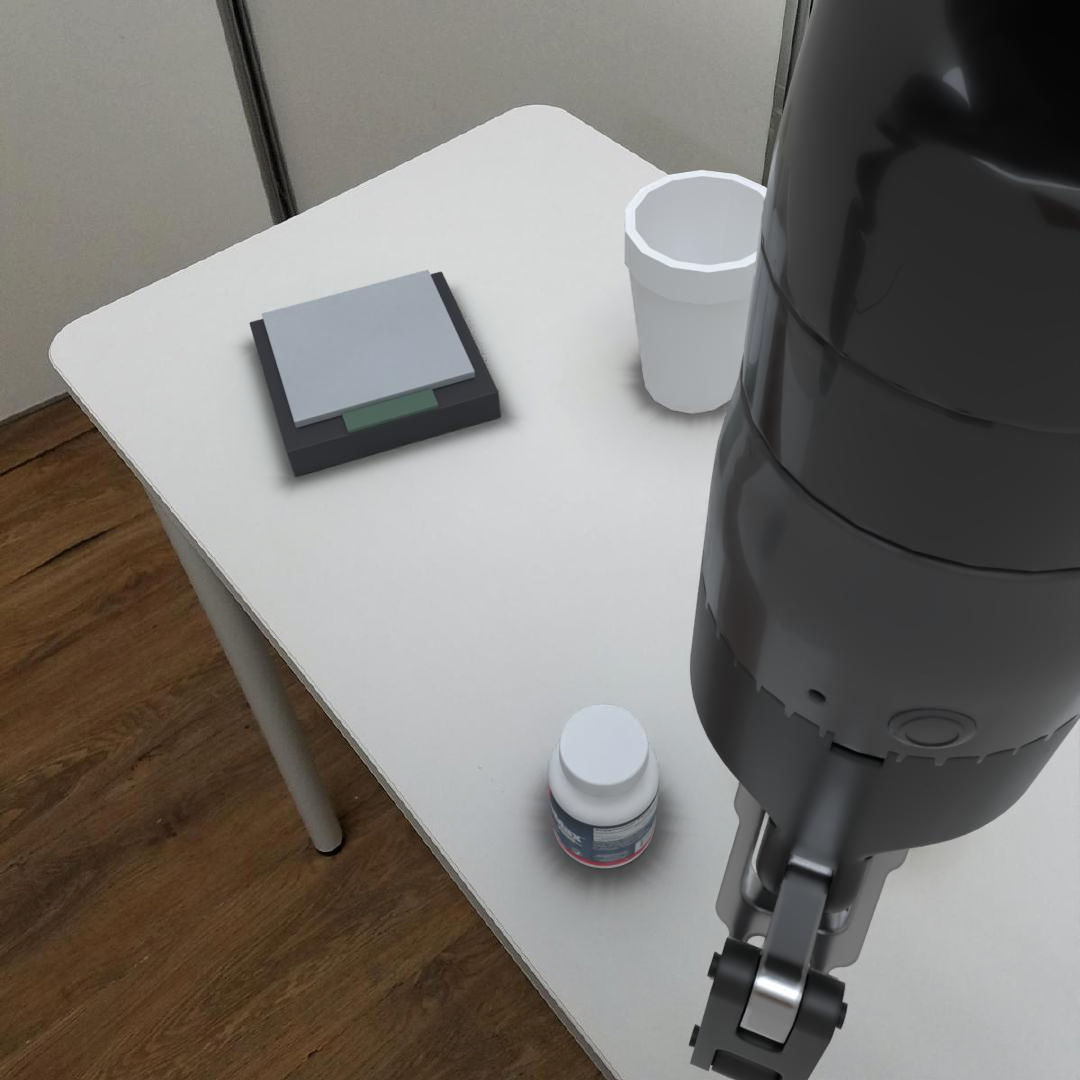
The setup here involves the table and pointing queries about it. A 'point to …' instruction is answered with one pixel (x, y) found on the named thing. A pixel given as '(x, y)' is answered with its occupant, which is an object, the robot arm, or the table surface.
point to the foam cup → (693, 283)
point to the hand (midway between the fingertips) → (791, 877)
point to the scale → (372, 370)
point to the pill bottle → (603, 787)
